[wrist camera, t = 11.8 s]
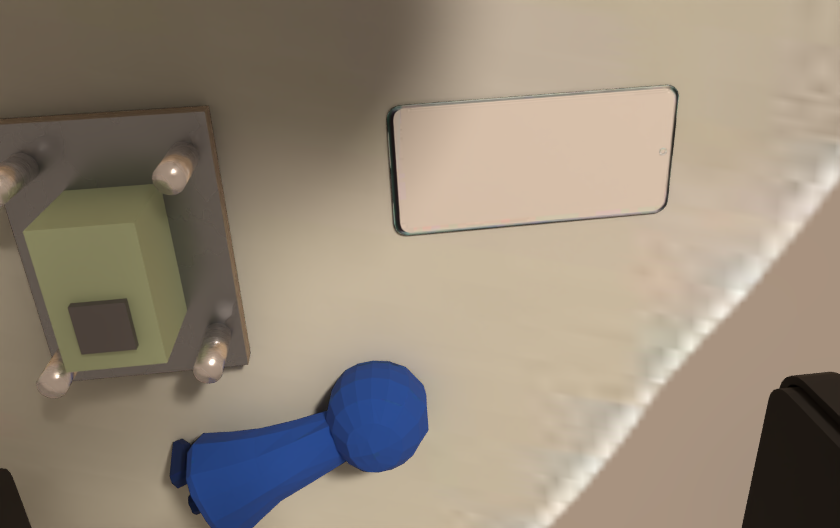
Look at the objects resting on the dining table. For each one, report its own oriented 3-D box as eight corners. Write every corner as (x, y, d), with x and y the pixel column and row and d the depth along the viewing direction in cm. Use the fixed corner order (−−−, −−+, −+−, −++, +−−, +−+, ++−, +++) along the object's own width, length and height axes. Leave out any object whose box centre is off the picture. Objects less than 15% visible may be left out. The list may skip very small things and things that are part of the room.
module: (63, 190, 34) (19, 235, 29) (160, 183, 34) (131, 226, 30) (98, 318, 37) (63, 377, 32) (187, 310, 37) (165, 367, 33)
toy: (220, 495, 45) (442, 422, 44) (200, 577, 40) (454, 495, 39) (167, 416, 42) (404, 335, 41) (138, 492, 37) (411, 401, 36)
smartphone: (385, 106, 35) (680, 84, 36) (385, 104, 36) (675, 82, 37) (395, 237, 38) (666, 212, 39) (394, 233, 39) (662, 209, 40)
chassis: (-9, 119, 33) (-59, 148, 29) (208, 105, 34) (191, 131, 30) (67, 369, 40) (35, 423, 35) (250, 352, 40) (240, 402, 36)
